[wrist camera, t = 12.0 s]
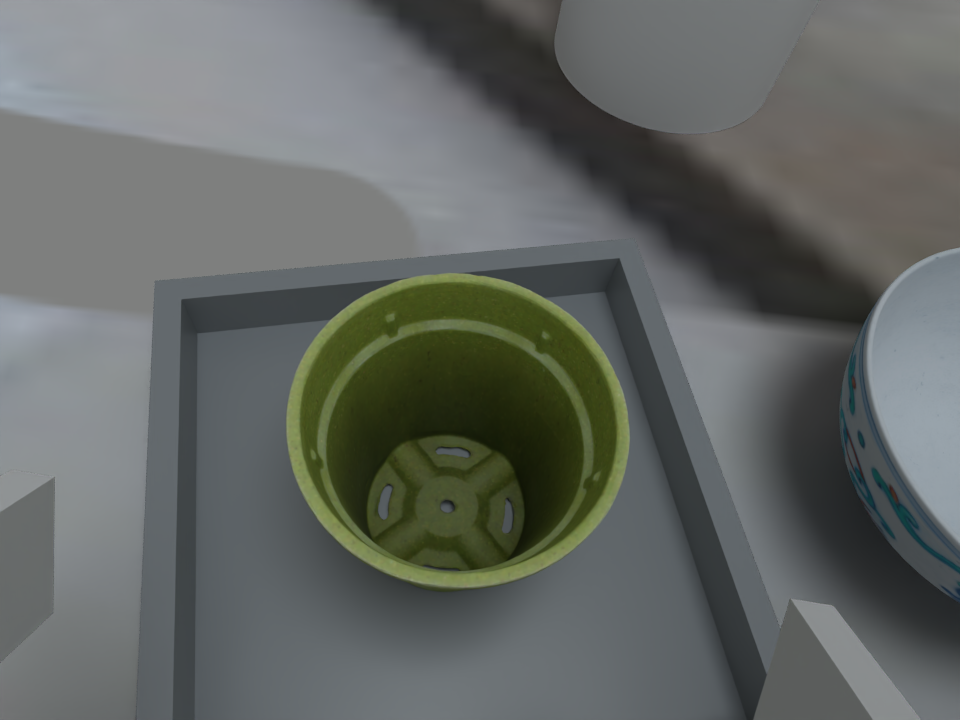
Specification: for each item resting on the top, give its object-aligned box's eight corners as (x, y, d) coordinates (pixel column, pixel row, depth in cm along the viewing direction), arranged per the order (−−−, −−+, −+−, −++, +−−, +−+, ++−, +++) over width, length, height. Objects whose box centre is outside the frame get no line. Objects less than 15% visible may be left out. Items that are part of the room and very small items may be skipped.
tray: (613, 284, 34) (634, 238, 31) (772, 748, 25) (824, 746, 22) (179, 328, 31) (154, 280, 28) (166, 889, 21) (127, 909, 18)
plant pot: (296, 632, 24) (249, 571, 17) (338, 389, 29) (317, 256, 21) (566, 652, 25) (640, 601, 17) (564, 410, 29) (621, 287, 22)
